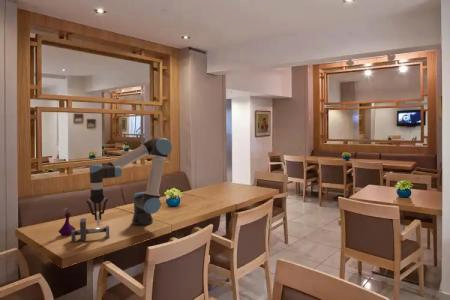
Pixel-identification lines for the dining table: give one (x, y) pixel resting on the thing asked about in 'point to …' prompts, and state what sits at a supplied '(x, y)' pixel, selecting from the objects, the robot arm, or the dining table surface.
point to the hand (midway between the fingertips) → (98, 224)
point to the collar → (83, 229)
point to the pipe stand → (90, 232)
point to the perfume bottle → (66, 225)
